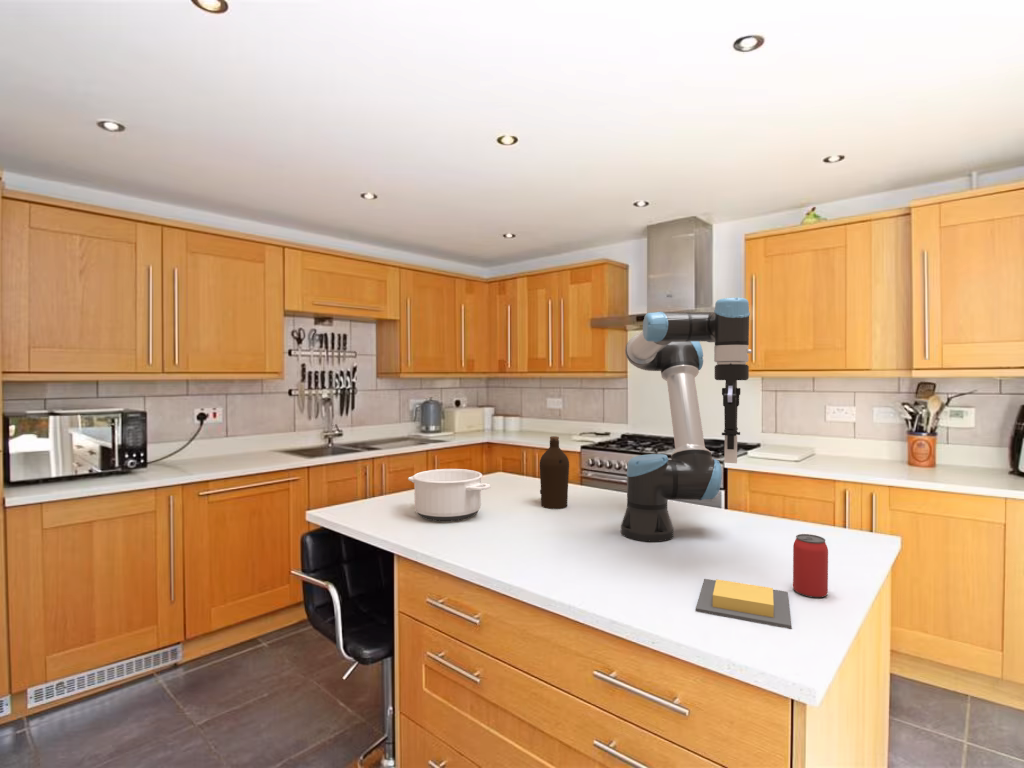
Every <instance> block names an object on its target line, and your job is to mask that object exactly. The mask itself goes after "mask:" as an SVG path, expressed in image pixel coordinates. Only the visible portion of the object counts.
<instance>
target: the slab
mask: <svg viewBox="0 0 1024 768" xmlns="http://www.w3.org/2000/svg"><path fill="white" fill-rule="evenodd" d="M773 590H774V589H773V587H769V586H767V587H766V586H762V585H761V586H760V585H756V584H755V585H754V584H749V583H743V582H742V583H741V582H736V581H729V580H723V579H716V583H715V587H714V592H713V607H717V608H723V609H728V610H734V611H739V612H745V613H751V614H756V615H762V616H768V617H773V618H774V602H773Z"/></svg>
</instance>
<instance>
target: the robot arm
mask: <svg viewBox="0 0 1024 768" xmlns="http://www.w3.org/2000/svg"><path fill="white" fill-rule="evenodd" d="M749 305H750V304H749V300H748V299H747V298H745V297H726V298H720V299H719V298H718V300H716V301H715V304H714V309H713V311H689V312H687V311H685V312H684V311H683V312H681V311H680V312H679V311H677V312H675V311H666V312H665V311H656V312H647V313H646V314H645V315H644V317H643V318H644V319H643V321H642V331H641V332H640V333H639V334H636V335H634V336H632V337H631V338H629V340H628V341H627V342H626V345H625V349H624V351H625V357H626V358H627V361H629V362H628V363H630V364H631V365H632V366H634V367H636V368H637V369H640V370H643V371H648V372H660V374H661V378H662V380H664V381H666V383H667V392H668V400H669V409H670V415H671V416H670V417H671V424H672V433H673V439H674V449H675V450H674V451H673V452H672V453H671V455H670V459H669V458H668V455H667V454H664V453H656V454H655V453H651V454H647V453H646V454H642V455H637V456H633V457H632V458H630V459H628V462H627V467H626V473H625V475H626V485H627V486H626V509H625V512H624V515H623V518H622V521H621V525H620V534H621V535H623V536H624V537H626V538H628V539H631V540H636V541H641V542H650V543H651V542H652V543H653V542H654V543H655V542H665V541H669V540H671V539H673V538H674V526H673V523H672V519H671V516H670V513H669V510H668V500H689V501H690V500H691V501H692V500H698V501H702V500H712V499H715V498H716V497H717V496H718V494H719V492H720V489H721V487H722V477H723V476H722V475H723V472H722V465H721V463H720V461H719V460H717V459H715V458H713V457H712V455H713V454H712V451H710V450H709V449H708V448H706V446H705V440H704V439H705V438H704V432H703V425H702V419H701V418H702V417H701V412H700V406H699V399H698V398H699V397H698V391H697V384H696V379H695V378H696V377H697V376H698V374H699V373H700V372H699V371H701V370H702V367H703V365H704V358H703V357H704V352H703V348H702V343H701V342H706V343H714V350H713V351H714V356H713V357H714V360H713V361H714V363H716V365H714V379H715V380H716V381H725V382H724V383H725V387H722V388H721V396H722V406H723V408H724V413H723V415H724V429H723V432H721V436H724V458H723V459H724V463H725V464H737V463H738V436H740V435H741V432H740V431H739V432H738V429H739V428H738V408H739V406H740V396H741V388H740V387H738V381H747V380H748V379H749V375H750V374H749V369H750V367H749V365H748V364H746V363H747V362H749V354H752V349H749V342H750V341H749V340H750V315H751V312H750V306H749Z"/></svg>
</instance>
